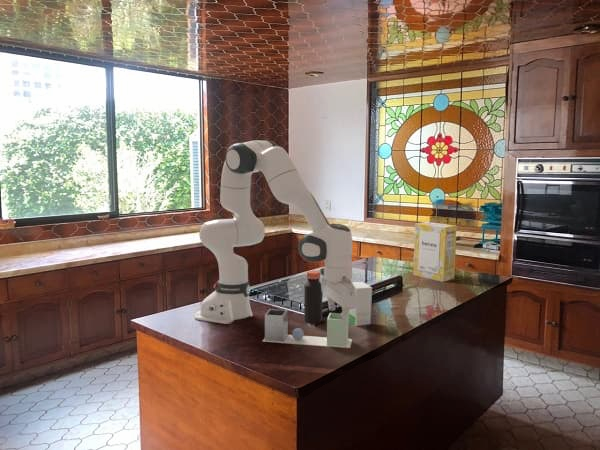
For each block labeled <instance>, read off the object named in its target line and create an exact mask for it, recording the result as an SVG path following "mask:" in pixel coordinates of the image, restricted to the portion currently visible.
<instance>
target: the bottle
mask: <svg viewBox="0 0 600 450" xmlns="http://www.w3.org/2000/svg"><path fill="white" fill-rule="evenodd" d="M306 279H307V281H306V283H305V284H304V289H303V290H304V295H303V296H304V304H303V305H304V309H303V310H304V311H303V312H304V313H303V314H304V316H303V318H304V320H303V321H304V322H305V323H307V324H320V323H322V322H323V293H322V290H321V281H320V280H321V274H320V270H308V271H307V272H306Z"/></svg>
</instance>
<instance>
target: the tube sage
mask: <svg viewBox="0 0 600 450" xmlns="http://www.w3.org/2000/svg"><path fill="white" fill-rule="evenodd" d="M326 337H327V345H328V346H327V347H330V346H341V347H340V348H343V347H346V346H347V342H348V339H349V323H348V318H347V319H346V320H343V319H342V318H341V312H340V313H337V312H329V314H328V316H327V318H326Z"/></svg>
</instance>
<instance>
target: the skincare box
mask: <svg viewBox="0 0 600 450" xmlns="http://www.w3.org/2000/svg"><path fill="white" fill-rule="evenodd" d="M352 284H353V285H354V286H355V290H356V307H355V309H350V310H349V312H348V324H352V325H354V326H355V327H357V326H366V325H367V326H368V325H371V314H372V300H373V299H372V296H373V287H372V286H370V285H369V284H368V283H365V282H363V281H353V282H352Z"/></svg>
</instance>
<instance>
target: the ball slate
mask: <svg viewBox="0 0 600 450" xmlns="http://www.w3.org/2000/svg"><path fill="white" fill-rule="evenodd" d="M291 335H292V336H293V338H294V339H296V340H300V339H302V338H303V336H305V333H304V330H303V329H302V328H301V327H296V328H294V329H293V330H292V333H291Z"/></svg>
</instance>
